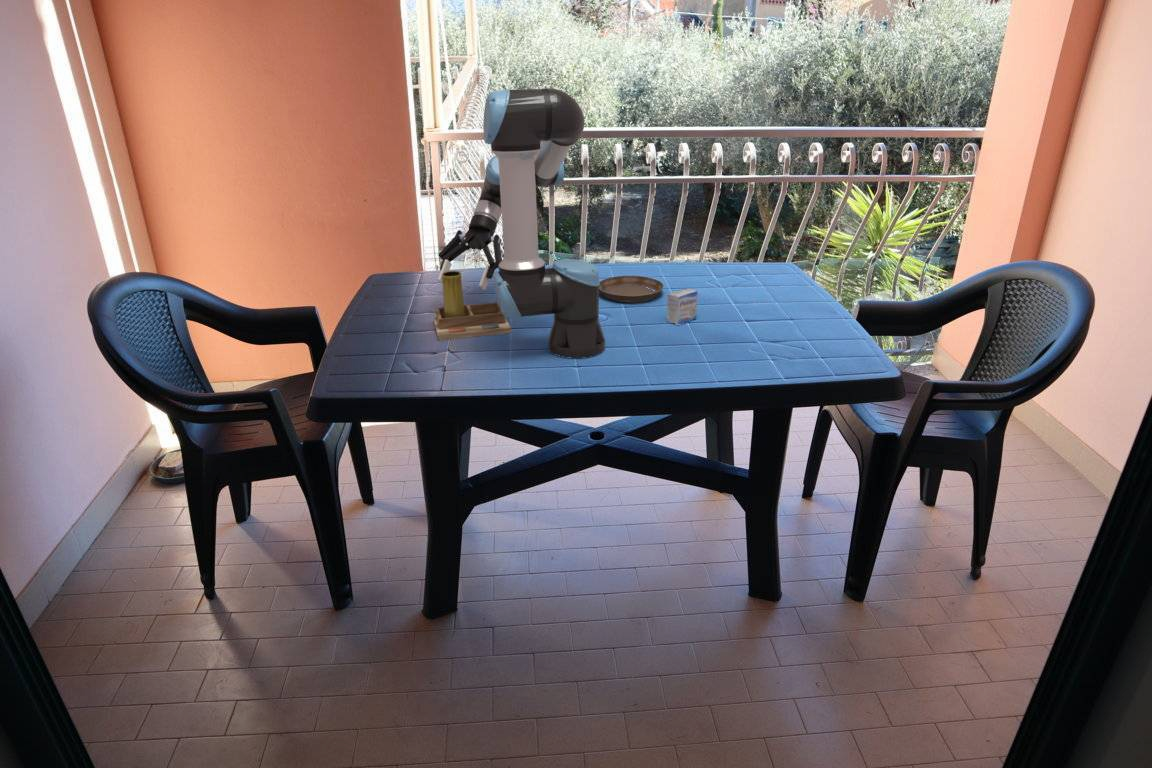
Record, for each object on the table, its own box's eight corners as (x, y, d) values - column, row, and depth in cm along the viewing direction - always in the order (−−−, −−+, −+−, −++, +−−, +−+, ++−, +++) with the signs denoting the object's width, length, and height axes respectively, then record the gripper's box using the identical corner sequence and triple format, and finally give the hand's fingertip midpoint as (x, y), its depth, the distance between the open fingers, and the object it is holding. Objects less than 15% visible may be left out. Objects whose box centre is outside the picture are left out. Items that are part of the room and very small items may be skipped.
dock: (511, 332, 218) (510, 317, 216) (438, 340, 214) (437, 324, 212) (502, 315, 230) (501, 301, 228) (434, 322, 226) (432, 307, 224)
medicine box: (677, 326, 222) (679, 297, 218) (666, 321, 225) (667, 293, 221) (696, 319, 226) (698, 291, 223) (685, 315, 229) (686, 287, 226)
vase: (467, 317, 225) (463, 270, 218) (464, 325, 219) (461, 276, 213) (445, 318, 225) (441, 270, 218) (443, 326, 219) (438, 277, 213)
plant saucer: (597, 284, 257) (597, 274, 255) (661, 284, 256) (661, 274, 254) (596, 305, 238) (596, 295, 237) (665, 306, 237) (665, 295, 236)
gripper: (527, 231, 226) (504, 296, 221) (454, 222, 236) (430, 285, 230) (518, 217, 220) (494, 284, 214) (443, 209, 229) (418, 273, 224)
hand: (461, 284), depth 222 cm, fingers open, 13 cm apart
